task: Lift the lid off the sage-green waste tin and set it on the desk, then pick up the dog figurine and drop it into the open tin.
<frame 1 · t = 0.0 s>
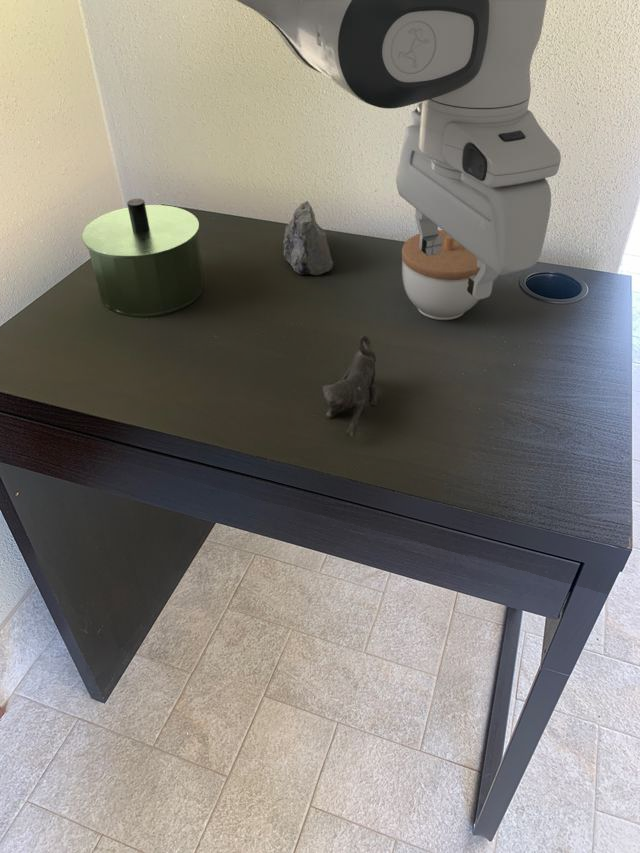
hand: (452, 272, 68), 20 cm above the table, tool pointing down, fingers open, 8 cm apart
waste tin: (153, 289, 105), on the table
lidded bowl: (441, 308, 100), on the table
tin lid: (141, 232, 99), point 9 cm above the table, touching waste tin
mineral rock: (310, 258, 112), on the table
dog figurine: (349, 410, 83), on the table
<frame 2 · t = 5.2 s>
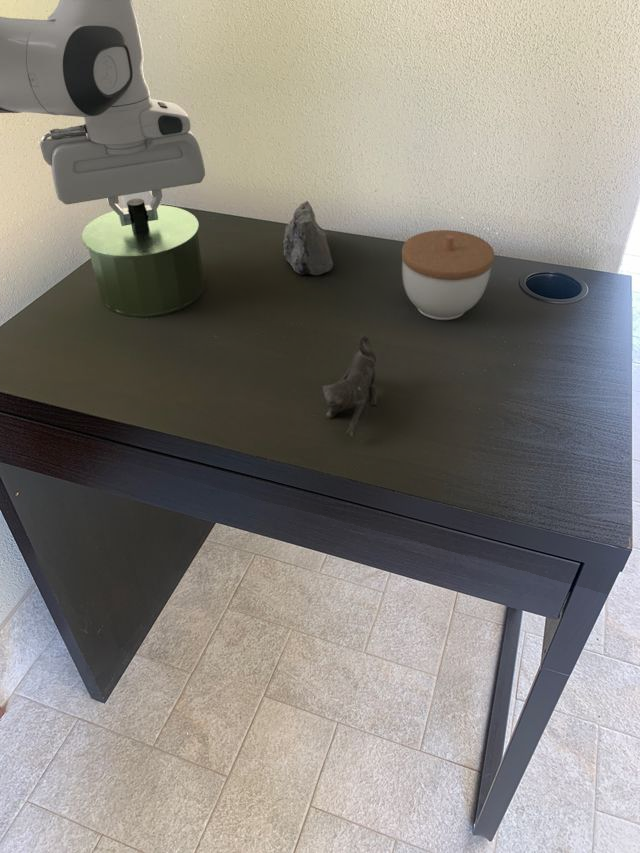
hand: (139, 221, 98), 11 cm above the table, tool pointing down, fingers closed on tin lid, 2 cm apart
tin lid: (141, 232, 99), point 10 cm above the table, touching gripper, waste tin
everything else where it was.
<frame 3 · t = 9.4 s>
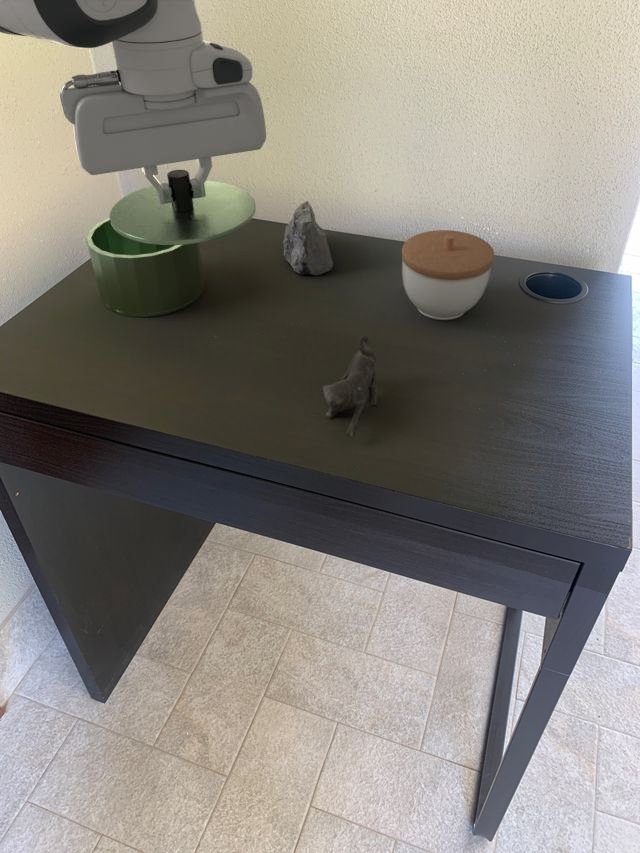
hand: (182, 198, 78), 22 cm above the table, tool pointing down, fingers closed on tin lid, 2 cm apart
tin lid: (183, 212, 79), point 20 cm above the table, touching gripper
everything else where it was.
when the fingers open (2 cm above the table, at t = 13.7 s): tin lid stays where it is, point 1 cm above the table.
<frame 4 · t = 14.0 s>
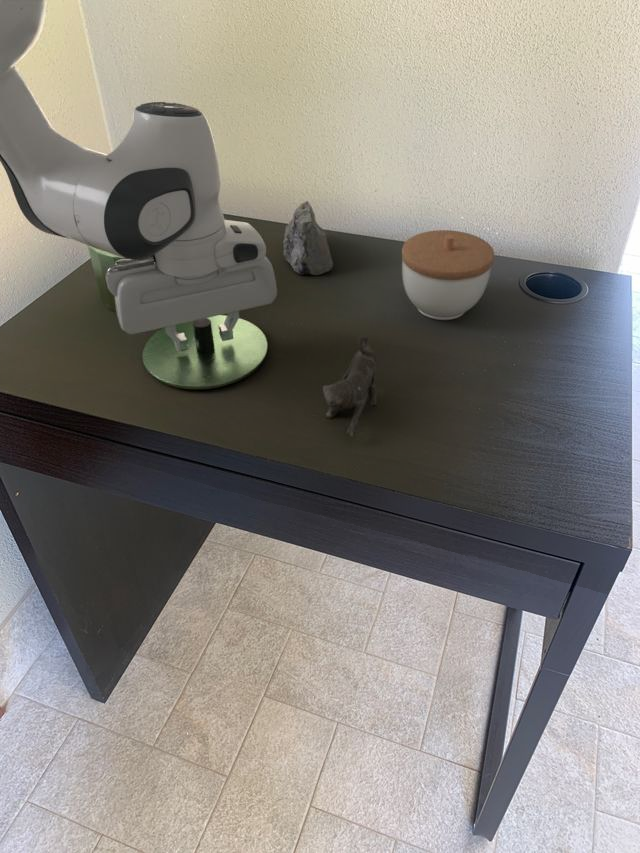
hand: (204, 343, 91), 2 cm above the table, tool pointing down, fingers open, 5 cm apart
tin lid: (205, 351, 92), point 1 cm above the table
everything else where it was.
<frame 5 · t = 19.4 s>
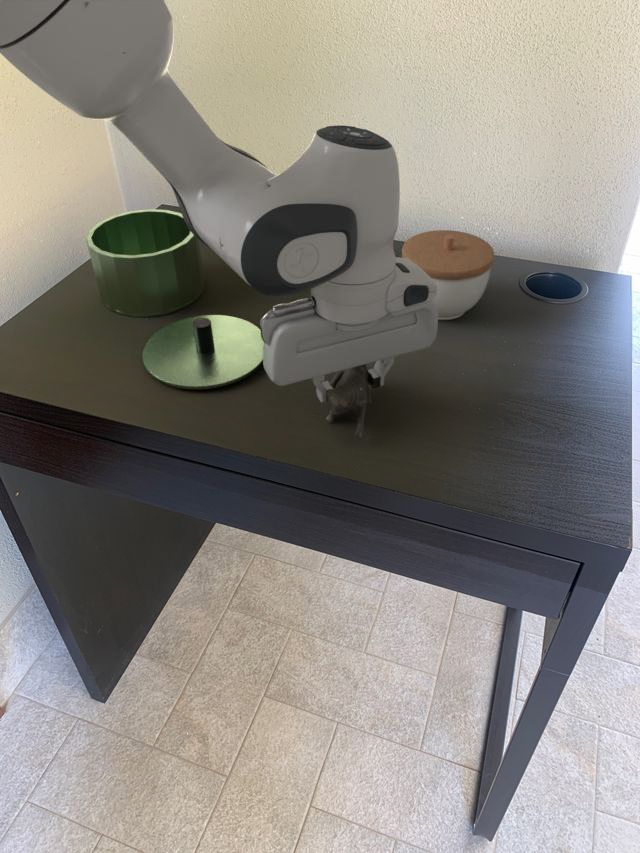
hand: (350, 391, 81), 3 cm above the table, tool pointing down, fingers closed on dog figurine, 5 cm apart
dog figurine: (346, 412, 83), on the table, touching gripper
everything else where it was.
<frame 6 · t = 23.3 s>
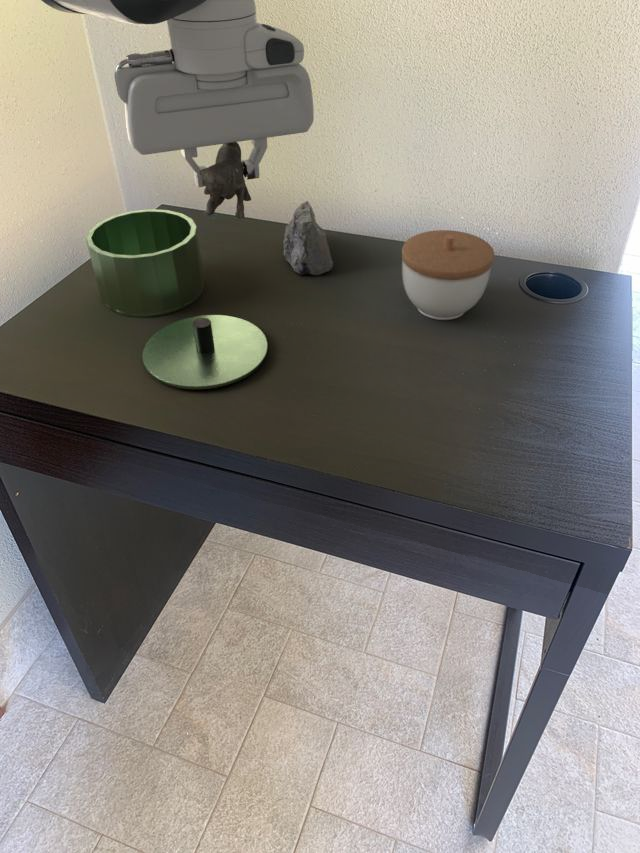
hand: (227, 181, 78), 23 cm above the table, tool pointing down, fingers closed on dog figurine, 4 cm apart
dog figurine: (225, 209, 79), point 20 cm above the table, touching gripper
everything else where it was.
when the fingers open (11 cm above the table, at t = 27.8 s): dog figurine drops 5 cm, resting on waste tin.
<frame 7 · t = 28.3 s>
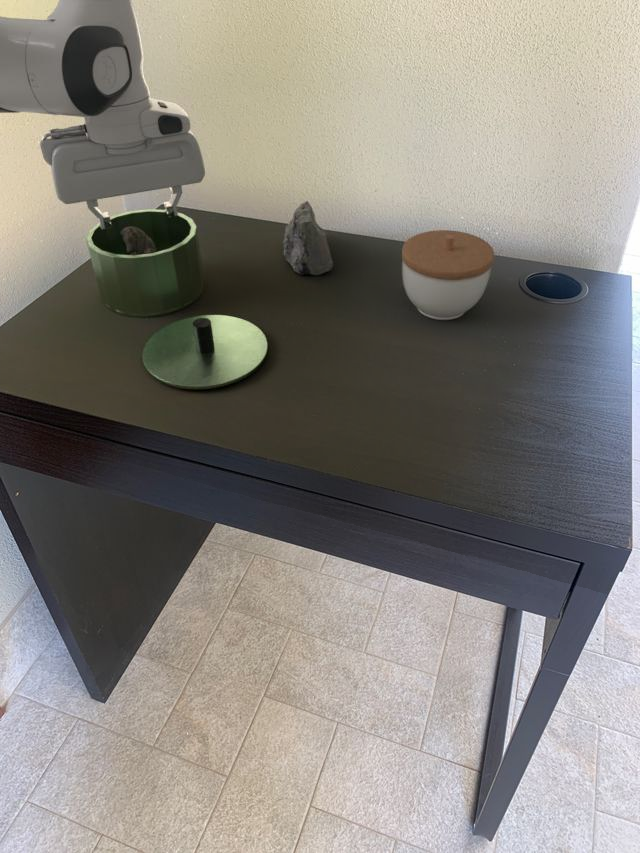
hand: (139, 221, 98), 11 cm above the table, tool pointing down, fingers open, 8 cm apart
dog figurine: (139, 277, 100), point 4 cm above the table, touching waste tin
everything else where it was.
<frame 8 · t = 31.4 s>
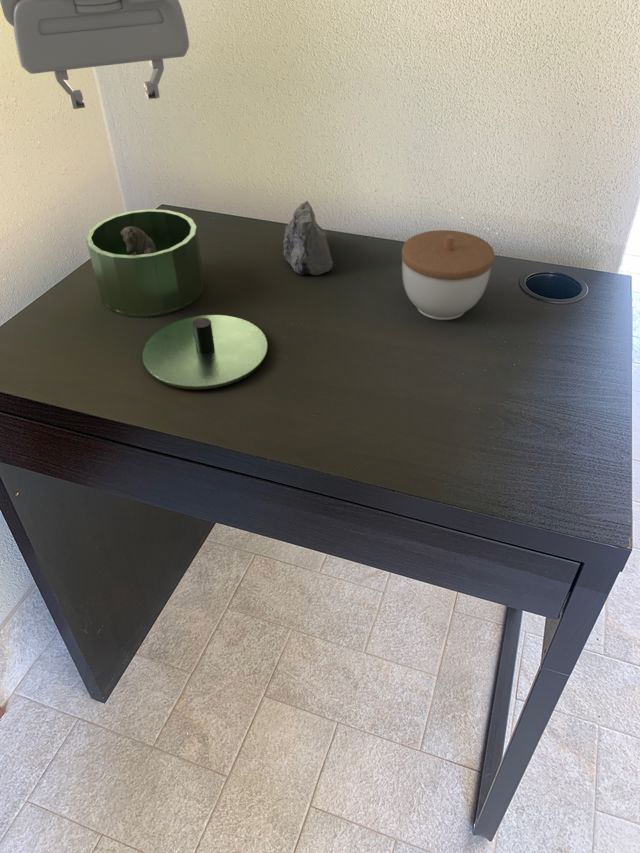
hand: (116, 102, 87), 27 cm above the table, tool pointing down, fingers open, 8 cm apart
nothing on the table moved.
at the end: tin lid inside the target area (0.0 cm from its centre), point 0.6 cm above the table; dog figurine inside the target area in the waste tin (3.2 cm from its centre), point 3.9 cm above the waste tin's base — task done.
